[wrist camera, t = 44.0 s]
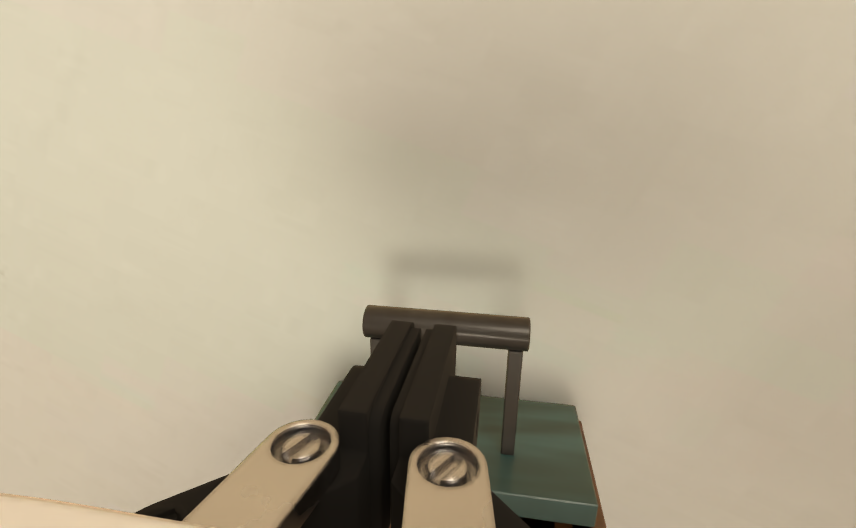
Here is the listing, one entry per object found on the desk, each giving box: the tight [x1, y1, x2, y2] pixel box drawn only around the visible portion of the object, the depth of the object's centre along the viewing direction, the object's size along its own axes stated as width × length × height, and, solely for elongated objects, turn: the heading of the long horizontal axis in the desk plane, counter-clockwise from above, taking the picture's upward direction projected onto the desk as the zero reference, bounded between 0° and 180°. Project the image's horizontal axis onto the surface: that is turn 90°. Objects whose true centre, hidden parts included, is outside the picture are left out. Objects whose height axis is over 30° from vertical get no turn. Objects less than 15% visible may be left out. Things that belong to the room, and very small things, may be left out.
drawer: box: [315, 305, 598, 528], centre depth 24 cm, size 21×13×7 cm, turn 179°
